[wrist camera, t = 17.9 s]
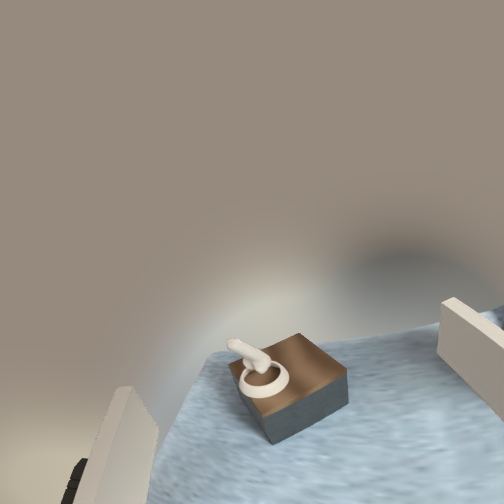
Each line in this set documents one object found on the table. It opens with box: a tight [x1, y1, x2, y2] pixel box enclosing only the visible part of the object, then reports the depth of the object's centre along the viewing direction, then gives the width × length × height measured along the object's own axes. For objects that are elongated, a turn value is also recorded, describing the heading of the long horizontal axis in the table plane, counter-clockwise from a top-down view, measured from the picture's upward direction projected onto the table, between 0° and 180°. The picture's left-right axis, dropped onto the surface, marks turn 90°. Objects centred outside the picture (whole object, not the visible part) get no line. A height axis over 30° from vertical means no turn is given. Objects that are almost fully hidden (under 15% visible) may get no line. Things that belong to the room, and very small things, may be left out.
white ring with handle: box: [227, 339, 289, 398], centre depth 40 cm, size 8×12×7 cm
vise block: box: [228, 333, 349, 445], centre depth 45 cm, size 14×14×8 cm
